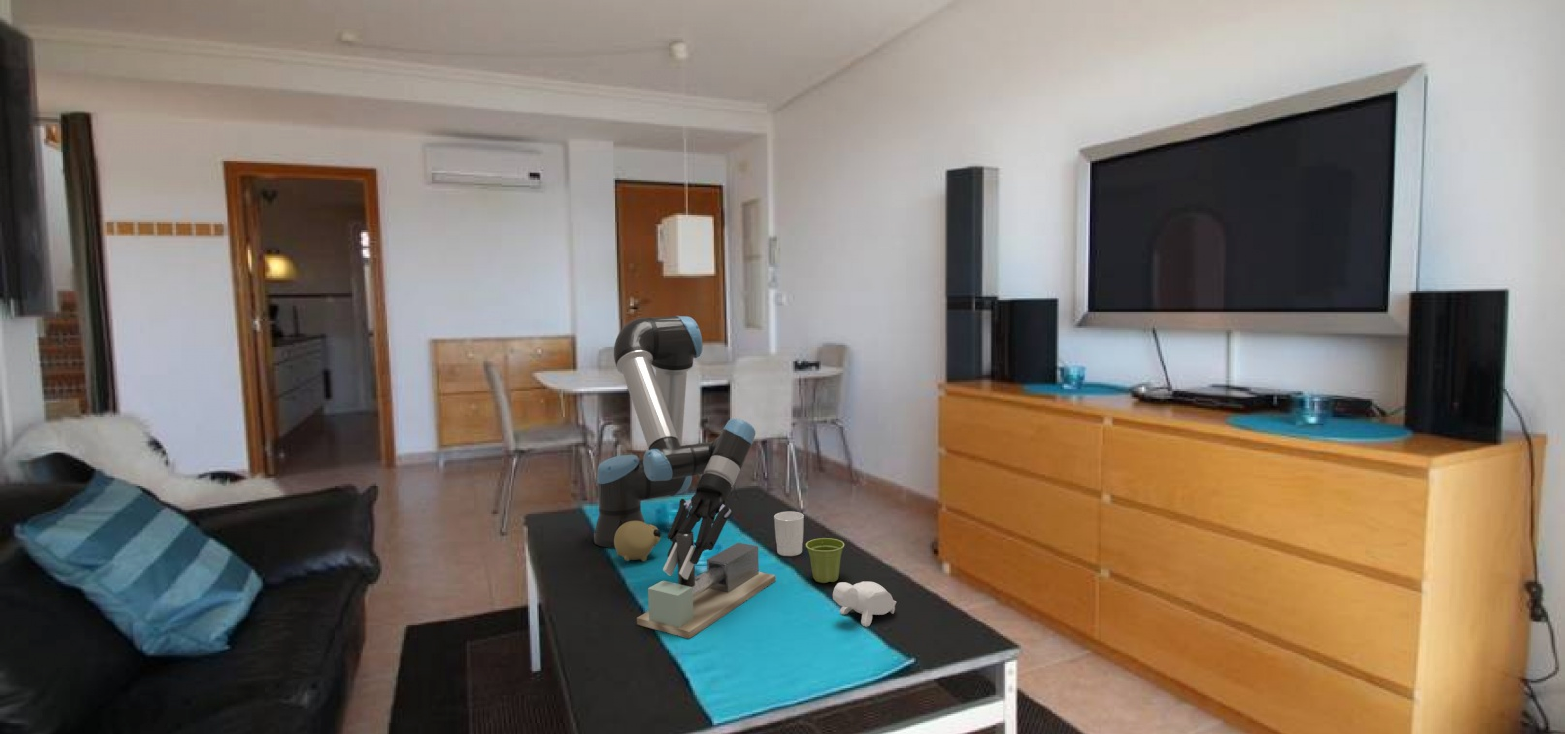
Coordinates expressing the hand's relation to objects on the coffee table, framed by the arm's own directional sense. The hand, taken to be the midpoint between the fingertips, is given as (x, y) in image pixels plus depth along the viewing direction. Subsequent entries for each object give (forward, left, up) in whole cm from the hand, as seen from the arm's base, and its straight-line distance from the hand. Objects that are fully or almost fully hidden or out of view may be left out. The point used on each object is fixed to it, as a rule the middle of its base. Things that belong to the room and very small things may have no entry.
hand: (675, 574), depth 162 cm
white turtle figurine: (+34, +21, -11) cm, 41 cm away
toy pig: (-33, +25, -11) cm, 43 cm away
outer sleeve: (0, +22, -9) cm, 24 cm away
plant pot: (+17, +36, -11) cm, 41 cm away
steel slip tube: (0, +8, -7) cm, 11 cm away
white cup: (0, +48, -11) cm, 49 cm away
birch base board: (0, +12, -11) cm, 16 cm away
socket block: (0, -2, -9) cm, 9 cm away
